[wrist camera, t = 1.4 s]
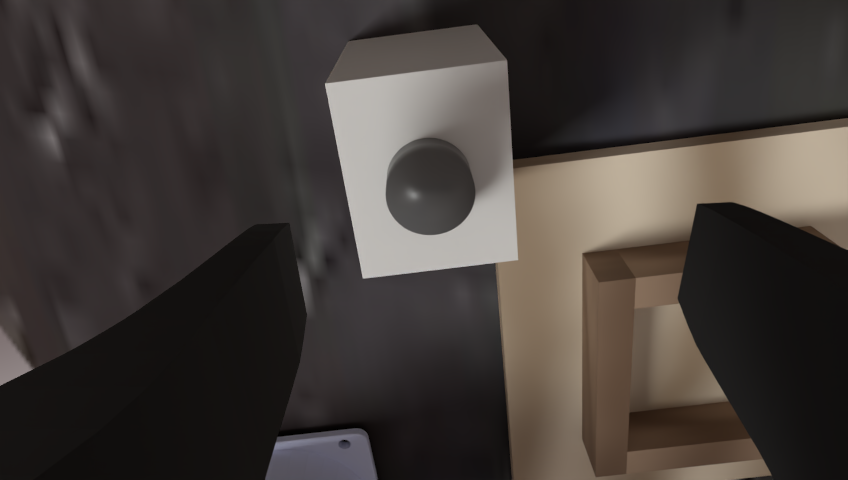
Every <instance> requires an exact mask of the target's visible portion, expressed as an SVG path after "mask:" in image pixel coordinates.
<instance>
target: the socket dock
mask: <svg viewBox="0 0 848 480" xmlns="http://www.w3.org/2000/svg"><path fill="white" fill-rule="evenodd" d="M513 176H514V194H515V212H516V231H517V249H518V260H515V261H506V262H498V263H496V275H497V289H498V302H499V315H500V328H501V341H502V354H503V368H504V381H505V394H506V407H507V420H508V433H509V447H510V460H511V473H512V480H733V479H742V478H751V477H761V476H770V475H771V473H770V471H769V469H768V467H767V466H766V464H765V462H764V460H763V458H762V456H761V454H760V453H759V451H758V449H757V447H756V446H755V444H754V442H753V441H752V439H751V437H750V436H749V434H748V432H747V431H746V429H745V427H744V426H743V424H742V422H741V421H740V419H739V417H738V416H737V414H736V412H735V411H734V409H733V407H732V406H731V404H730V402H729V401H728V399H727V397H726V396H725V394H724V392H723V391H722V389H721V387H720V385H719V384H718V382H717V380H716V379H715V377H714V375H713V374H712V372H711V370H710V368H709V367H708V365H707V363H706V362H705V360H704V358H703V356H702V355H701V353H700V351H699V349H698V348H697V346H696V344H695V341H694V339H693V337H692V334H691V332H690V330H689V327H688V325H687V322H686V320H685V317H684V314H683V312H682V309H681V306H680V304H679V301H678V299H677V298H678V293H679V288H680V284H681V279H682V274H683V269H684V264H685V259H686V255H687V250H688V245H689V240H690V235H691V230H692V226H693V221H694V216H695V211H696V206H697V204H701V203H722V202H734V203H737V204H741V205H744V206H747V207H750V208H752V209H755V210H757V211H760V212H762V213H765V214H767V215H769V216H772V217H774V218H777V219H779V220H781V221H783V222H786V223H788V224H790V225H792V226H795V227H797V228H799V229H801V230H804V231H806V232H808V233H810V234H813V235H815V236H817V237H819V238H821V239H824V240H826V241H828V242H831V243H833V244H835V245H837V246H840V247H842V248H844V249H846V250H848V118H844V119H836V120H828V121H820V122H812V123H804V124H796V125H788V126H780V127H772V128H764V129H756V130H748V131H740V132H732V133H724V134H716V135H708V136H700V137H692V138H684V139H676V140H668V141H660V142H652V143H644V144H636V145H628V146H620V147H612V148H604V149H596V150H588V151H580V152H572V153H564V154H556V155H548V156H540V157H532V158H524V159H516V160H513Z"/></svg>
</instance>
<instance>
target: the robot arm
mask: <svg viewBox="0 0 848 480" xmlns="http://www.w3.org/2000/svg"><path fill="white" fill-rule="evenodd" d="M677 299H678V301H679V304H680V306H681V309H682V312H683V314H684V317H685V320H686V322H687V325H688V327H689V330H690V332H691V334H692V337H693V339H694V341H695V344H696V346H697V348H698V349H699V351H700V353H701V355H702V356H703V358H704V360H705V362H706V363H707V365H708V367H709V368H710V370H711V372H712V374H713V375H714V377H715V379H716V380H717V382H718V384H719V385H720V387H721V389H722V391H723V392H724V394H725V396H726V397H727V399H728V401H729V402H730V404H731V406H732V407H733V409H734V411H735V412H736V414H737V416H738V417H739V419H740V421H741V422H742V424H743V426H744V427H745V429H746V431H747V432H748V434H749V436H750V437H751V439H752V441H753V442H754V444H755V446H756V447H757V449H758V451H759V453H760V454H761V456H762V458H763V460H764V462H765V464H766V466H767V467H768V469H769V471H770V473H771V475H772V477H773V479H774V480H848V250H846V249H844V248H842V247H840V246H837V245H835V244H833V243H831V242H828V241H826V240H824V239H821V238H819V237H817V236H815V235H813V234H810V233H808V232H806V231H804V230H801V229H799V228H797V227H795V226H792V225H790V224H788V223H786V222H783V221H781V220H779V219H777V218H774V217H772V216H769V215H767V214H765V213H762V212H760V211H757V210H755V209H752V208H750V207H747V206H744V205H741V204H737V203H734V202H722V203H701V204H697V206H696V211H695V216H694V221H693V226H692V230H691V235H690V240H689V245H688V250H687V255H686V259H685V264H684V269H683V274H682V279H681V284H680V288H679V293H678V298H677ZM306 317H307V313H306V308H305V302H304V297H303V292H302V287H301V282H300V277H299V271H298V266H297V261H296V256H295V251H294V245H293V240H292V235H291V230H290V225H289V223H278V224H257V225H254V226H252V227H251V228H249V229H248V230H246V231H245V232H243V233H242V234H241V235H239V236H238V237H237V238H235V239H234V240H233V241H231V242H230V243H229V244H227V245H226V246H225V247H224V248H222V249H221V250H220V251H218V252H217V253H216V254H215V255H213V256H212V257H211V258H209V259H208V260H207V261H205V262H204V263H203V264H202V265H200V266H199V267H198V268H196V269H195V270H194V271H192V272H191V273H190V274H189V275H187V276H186V277H185V278H183V279H182V280H181V281H179V282H178V283H176V284H175V285H173V286H172V287H171V288H169V289H168V290H166V291H165V292H163V293H162V294H161V295H159V296H158V297H156V298H155V299H153V300H152V301H151V302H149V303H148V304H146V305H145V306H143V307H142V308H141V309H139V310H138V311H136V312H135V313H133V314H132V315H130V316H129V317H127V318H125V319H124V320H122V321H121V322H119V323H117V324H116V325H114V326H113V327H111V328H109V329H108V330H106V331H104V332H102V333H101V334H99V335H97V336H96V337H94V338H92V339H90V340H89V341H87V342H85V343H83V344H82V345H80V346H78V347H76V348H75V349H73V350H71V351H69V352H67V353H65V354H63V355H61V356H59V357H57V358H55V359H53V360H51V361H49V362H47V363H45V364H43V365H41V366H39V367H37V368H35V369H33V370H31V371H29V372H27V373H25V374H23V375H21V376H19V377H17V378H15V379H13V380H11V381H9V382H7V383H5V384H3V385H1V386H0V480H378V477H377V472H376V468H375V463H374V459H373V454H372V450H371V445H370V441H369V436H368V434H367V432H366V431H364V430H362V429H360V428H353V429H344V430H335V431H326V432H317V433H308V434H300V435H291V436H282V437H278V434H279V430H280V427H281V424H282V420H283V417H284V414H285V410H286V407H287V404H288V401H289V397H290V394H291V390H292V387H293V384H294V380H295V377H296V373H297V370H298V366H299V363H300V357H301V351H302V345H303V339H304V331H305V324H306ZM341 440H348V442H343V441H341Z"/></svg>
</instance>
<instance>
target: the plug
mask: <svg viewBox="0 0 848 480" xmlns="http://www.w3.org/2000/svg"><path fill="white" fill-rule="evenodd" d="M325 86H326V91H327V96H328V101H329V107H330V112H331V117H332V122H333V127H334V132H335V137H336V142H337V147H338V153H339V158H340V163H341V168H342V173H343V178H344V183H345V188H346V194H347V199H348V204H349V209H350V214H351V219H352V224H353V229H354V235H355V240H356V245H357V250H358V255H359V260H360V265H361V270H362V276H363V278H372V277H380V276H389V275H397V274H405V273H414V272H422V271H431V270H439V269H447V268H456V267H464V266H473V265H481V264H490V263H498V262H506V261H515V260H518V249H517V231H516V212H515V194H514V176H513V158H512V139H511V121H510V103H509V85H508V67H507V59H506V58H505V57H504V56H503V55H502V53H501V52H500V51H499V50H498V49H497V47H496V46H495V45H494V44H493V43H492V41H491V40H490V39H489V38H488V37H487V35H486V34H485V33H484V32H483V31H482V29H481V28H480V27H479V26H478V25H477V24H476V25H468V26H460V27H453V28H445V29H437V30H430V31H422V32H415V33H407V34H399V35H392V36H384V37H376V38H369V39H361V40H354V41H348V43H347V45H346V46H345V48H344V50H343V52H342V54H341V55H340V57H339V59H338V61H337V63H336V65H335V66H334V68H333V70H332V72H331V74H330V76H329V77H328V79H327V81H326V83H325Z"/></svg>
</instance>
